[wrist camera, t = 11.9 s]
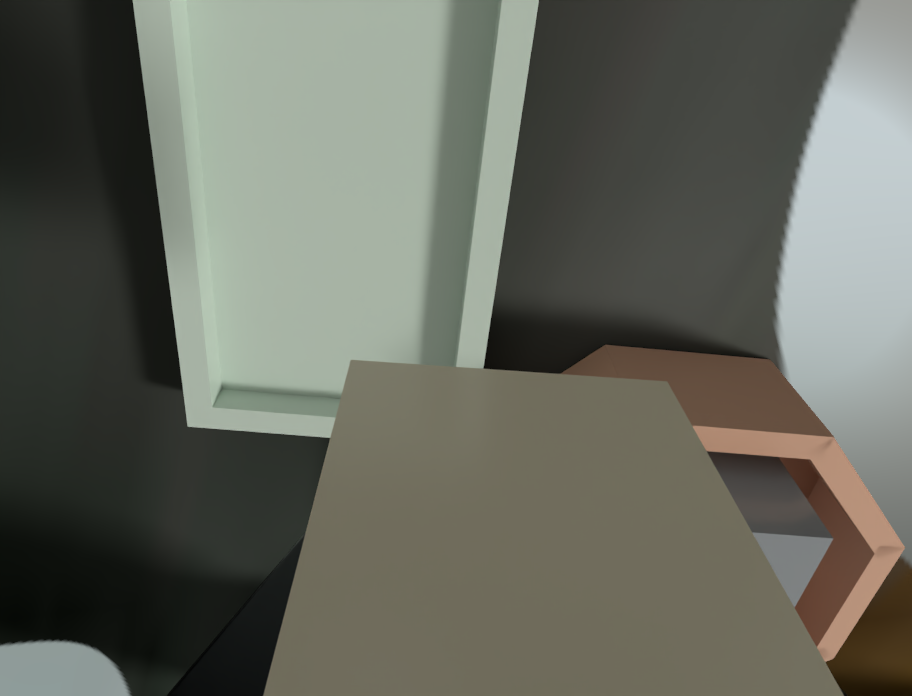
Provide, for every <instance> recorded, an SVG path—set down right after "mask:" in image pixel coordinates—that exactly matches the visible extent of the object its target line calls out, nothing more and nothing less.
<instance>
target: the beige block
mask: <svg viewBox="0 0 912 696" xmlns="http://www.w3.org/2000/svg"><path fill="white" fill-rule="evenodd" d="M263 696H844V695H843V693H842V691H841V690H840V688H839V686H838V684H837V682H836V681H835V679H834V677H833V675H832V674H831V672H830V670H829V668H828V666H827V665H826V663H825V661H824V659H823V658H822V656H821V654H820V652H819V650H818V649H817V647H816V645H815V643H814V642H813V640H812V638H811V636H810V634H809V633H808V631H807V629H806V627H805V626H804V624H803V622H802V620H801V618H800V617H799V615H798V613H797V611H796V610H795V608H794V606H793V604H792V602H791V601H790V599H789V597H788V595H787V594H786V592H785V590H784V588H783V586H782V585H781V583H780V581H779V579H778V578H777V576H776V574H775V572H774V570H773V569H772V567H771V565H770V563H769V562H768V560H767V558H766V556H765V554H764V553H763V551H762V549H761V547H760V546H759V544H758V542H757V540H756V538H755V537H754V535H753V533H752V531H751V530H750V528H749V526H748V524H747V522H746V521H745V519H744V517H743V515H742V514H741V512H740V510H739V508H738V506H737V505H736V503H735V501H734V499H733V498H732V496H731V494H730V492H729V490H728V489H727V487H726V485H725V483H724V482H723V480H722V478H721V476H720V474H719V473H718V471H717V469H716V467H715V466H714V464H713V462H712V460H711V458H710V457H709V455H708V453H707V451H706V450H705V448H704V446H703V444H702V442H701V441H700V439H699V437H698V435H697V434H696V432H695V430H694V428H693V426H692V425H691V423H690V421H689V419H688V418H687V416H686V414H685V412H684V410H683V409H682V407H681V405H680V403H679V402H678V400H677V398H676V396H675V394H674V393H673V391H672V389H671V387H670V386H669V384H668V382H667V381H654V380H640V379H625V378H611V377H596V376H581V375H567V374H552V373H538V372H523V371H508V370H494V369H479V368H465V367H450V366H436V365H421V364H406V363H392V362H377V361H363V360H351V361H350V365H349V368H348V372H347V376H346V380H345V384H344V388H343V391H342V395H341V399H340V403H339V407H338V411H337V414H336V418H335V422H334V426H333V430H332V434H331V437H330V441H329V445H328V449H327V453H326V457H325V460H324V464H323V468H322V472H321V476H320V480H319V484H318V487H317V491H316V495H315V499H314V503H313V507H312V510H311V514H310V518H309V522H308V526H307V530H306V533H305V537H304V541H303V545H302V549H301V553H300V556H299V560H298V564H297V568H296V572H295V576H294V579H293V583H292V587H291V591H290V595H289V599H288V603H287V606H286V610H285V614H284V618H283V622H282V626H281V629H280V633H279V637H278V641H277V645H276V649H275V652H274V656H273V660H272V664H271V668H270V672H269V675H268V679H267V683H266V687H265V691H264V695H263Z"/></svg>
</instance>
